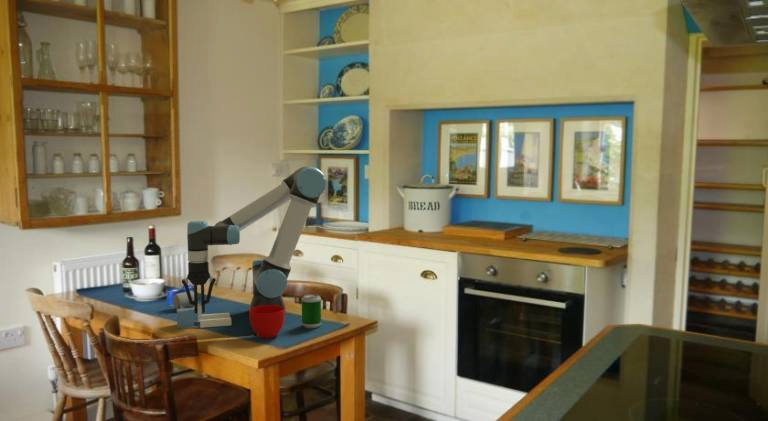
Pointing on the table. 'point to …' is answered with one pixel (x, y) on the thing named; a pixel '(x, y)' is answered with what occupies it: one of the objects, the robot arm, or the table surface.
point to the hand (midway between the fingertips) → (199, 321)
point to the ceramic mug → (183, 301)
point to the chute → (212, 320)
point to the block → (185, 317)
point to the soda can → (311, 311)
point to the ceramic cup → (267, 320)
